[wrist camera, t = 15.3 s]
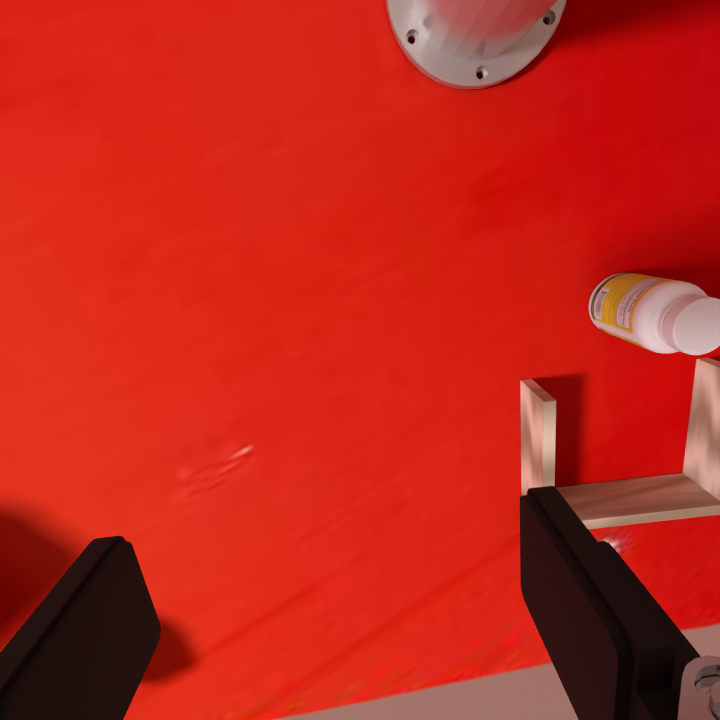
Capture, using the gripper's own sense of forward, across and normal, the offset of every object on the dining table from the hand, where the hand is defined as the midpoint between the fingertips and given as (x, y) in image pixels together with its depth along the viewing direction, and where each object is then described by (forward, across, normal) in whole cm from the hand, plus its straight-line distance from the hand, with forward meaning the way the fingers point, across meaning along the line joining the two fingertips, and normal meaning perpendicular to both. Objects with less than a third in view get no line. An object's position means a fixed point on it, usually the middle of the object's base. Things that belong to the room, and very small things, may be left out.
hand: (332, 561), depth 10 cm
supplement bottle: (+28, -23, +2) cm, 37 cm away
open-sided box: (+28, -24, +14) cm, 40 cm away
